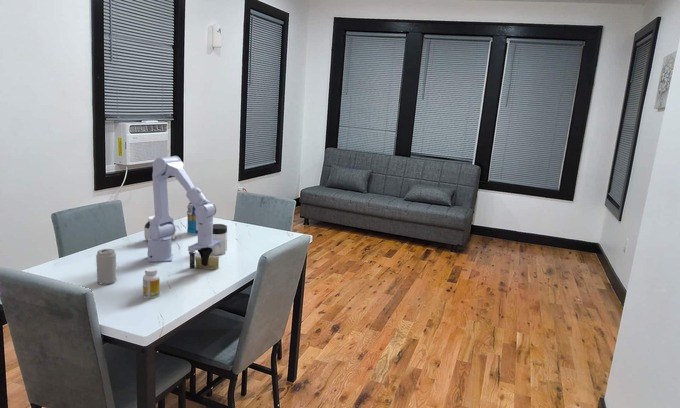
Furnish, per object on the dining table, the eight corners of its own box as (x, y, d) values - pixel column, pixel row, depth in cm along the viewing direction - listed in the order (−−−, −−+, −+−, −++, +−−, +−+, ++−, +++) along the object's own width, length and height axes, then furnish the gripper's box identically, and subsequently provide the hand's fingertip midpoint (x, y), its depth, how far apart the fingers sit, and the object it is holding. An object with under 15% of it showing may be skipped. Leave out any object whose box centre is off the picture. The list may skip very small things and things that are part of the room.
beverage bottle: (186, 230, 246) (187, 192, 242) (204, 230, 249) (204, 192, 244) (187, 235, 238) (187, 195, 234) (204, 235, 241) (205, 196, 237)
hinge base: (188, 268, 196) (188, 253, 194) (188, 266, 199) (188, 250, 197) (218, 267, 199) (219, 252, 198) (218, 265, 202) (218, 250, 201)
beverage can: (111, 277, 182) (110, 247, 179) (119, 282, 178) (118, 251, 175) (94, 281, 177) (92, 250, 174) (102, 286, 173) (101, 255, 170)
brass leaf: (195, 268, 196) (195, 257, 195) (195, 267, 197) (195, 256, 196) (218, 268, 198) (218, 257, 197) (218, 267, 199) (218, 256, 198)
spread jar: (141, 241, 224) (141, 217, 222) (158, 235, 235) (157, 212, 232) (163, 246, 221) (163, 221, 218) (178, 239, 231) (178, 216, 229)
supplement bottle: (161, 292, 172) (161, 267, 170) (156, 299, 167) (156, 272, 164) (146, 291, 172) (146, 266, 169) (140, 298, 166) (140, 271, 164)
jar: (210, 255, 213) (211, 229, 210) (204, 250, 219) (205, 224, 217) (230, 253, 218) (230, 227, 215) (223, 247, 224) (224, 223, 221)
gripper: (196, 238, 184) (195, 272, 187) (226, 231, 195) (225, 263, 198) (184, 234, 188) (184, 267, 191) (215, 228, 199) (214, 259, 202)
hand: (204, 265), depth 195 cm, fingers closed, pressing on brass leaf
